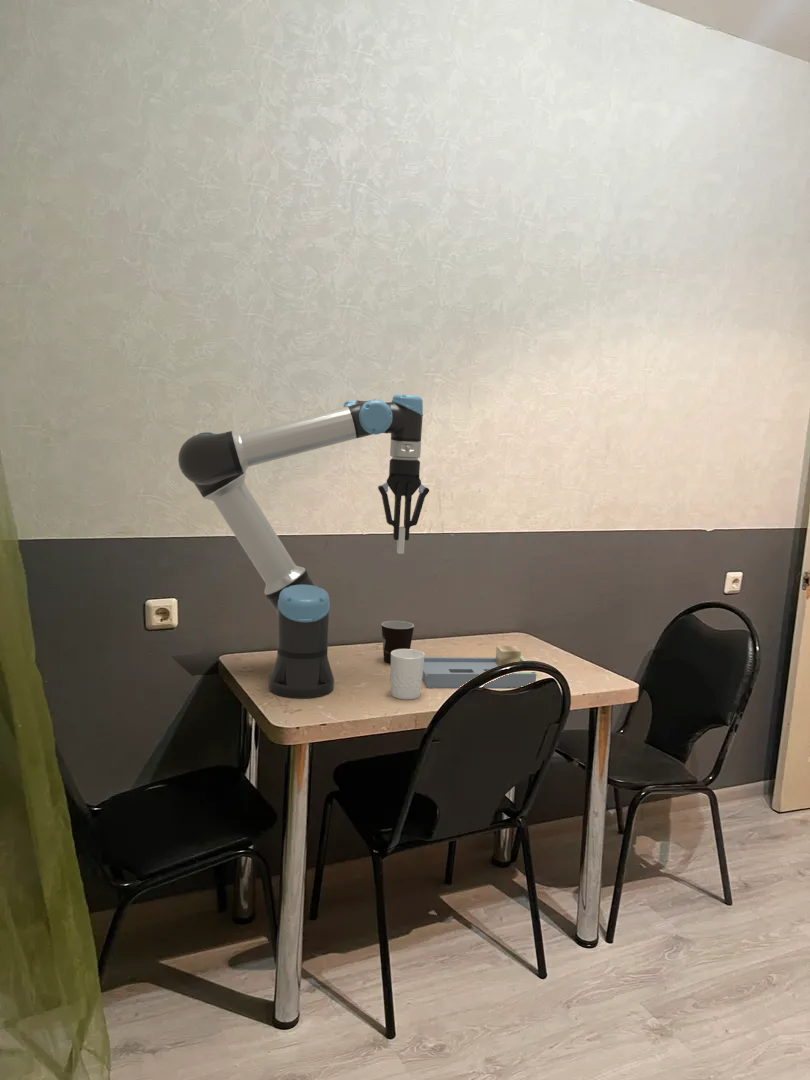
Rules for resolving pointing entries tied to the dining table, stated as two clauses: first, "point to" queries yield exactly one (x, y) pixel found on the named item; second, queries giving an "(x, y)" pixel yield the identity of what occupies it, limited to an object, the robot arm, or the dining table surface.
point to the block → (507, 655)
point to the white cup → (406, 673)
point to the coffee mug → (396, 637)
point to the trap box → (468, 672)
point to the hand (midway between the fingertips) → (400, 552)
